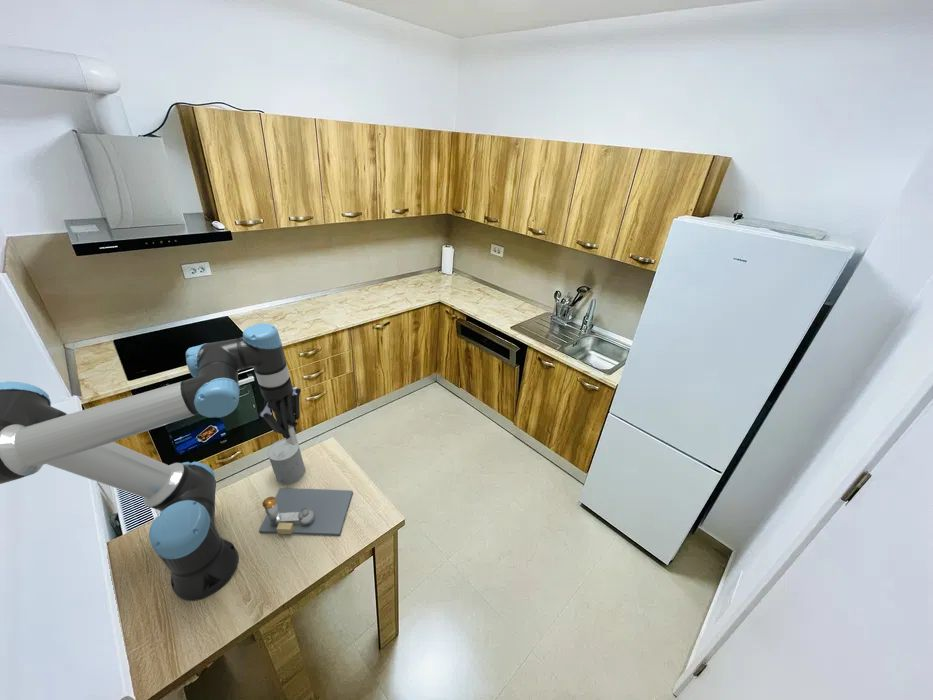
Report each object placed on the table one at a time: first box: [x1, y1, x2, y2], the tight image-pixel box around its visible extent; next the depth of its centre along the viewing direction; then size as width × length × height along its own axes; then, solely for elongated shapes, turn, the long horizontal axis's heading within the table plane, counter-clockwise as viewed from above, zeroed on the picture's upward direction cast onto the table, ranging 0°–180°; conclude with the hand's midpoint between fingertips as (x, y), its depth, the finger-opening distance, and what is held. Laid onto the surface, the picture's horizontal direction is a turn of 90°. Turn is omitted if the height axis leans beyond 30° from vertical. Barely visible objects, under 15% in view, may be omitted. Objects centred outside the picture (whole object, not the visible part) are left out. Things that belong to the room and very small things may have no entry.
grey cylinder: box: [267, 438, 306, 486], centre depth 126 cm, size 10×10×12 cm
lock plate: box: [258, 487, 354, 537], centre depth 116 cm, size 24×16×5 cm, turn 90°
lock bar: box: [262, 496, 315, 526], centre depth 110 cm, size 13×4×10 cm, turn 97°
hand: (292, 442), depth 109 cm, fingers closed
